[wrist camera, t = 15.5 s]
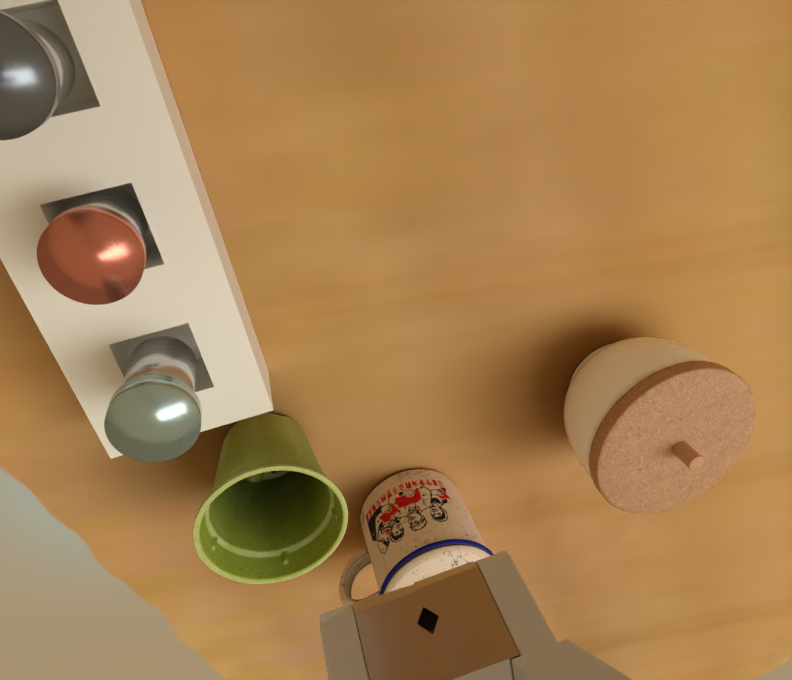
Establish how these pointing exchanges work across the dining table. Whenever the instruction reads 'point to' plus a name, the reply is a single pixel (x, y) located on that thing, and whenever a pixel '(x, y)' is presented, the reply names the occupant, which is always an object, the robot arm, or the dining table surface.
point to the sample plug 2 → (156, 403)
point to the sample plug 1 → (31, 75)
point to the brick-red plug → (95, 248)
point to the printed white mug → (413, 532)
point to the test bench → (163, 208)
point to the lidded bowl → (656, 422)
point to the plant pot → (268, 505)
